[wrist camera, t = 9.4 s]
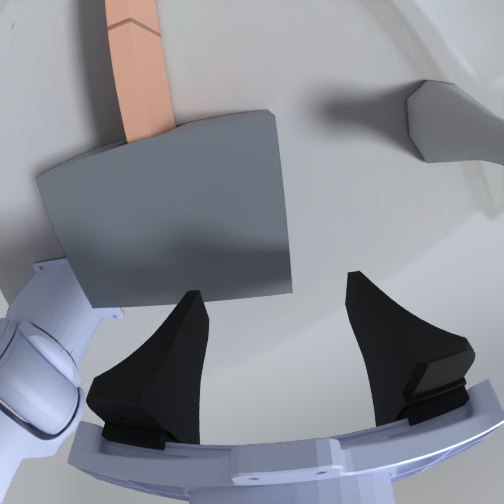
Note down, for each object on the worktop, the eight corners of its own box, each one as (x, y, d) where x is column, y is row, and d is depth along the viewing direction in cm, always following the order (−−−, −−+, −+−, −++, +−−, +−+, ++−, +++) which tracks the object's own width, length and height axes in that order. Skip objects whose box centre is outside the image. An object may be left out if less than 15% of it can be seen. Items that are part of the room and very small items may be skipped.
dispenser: (124, 257, 23) (92, 308, 18) (88, 150, 18) (35, 178, 12) (282, 237, 22) (292, 292, 17) (267, 109, 17) (274, 115, 11)
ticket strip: (162, 156, 19) (136, 177, 14) (133, -30, 10) (103, -53, 6) (181, 152, 18) (159, 171, 14) (151, -36, 10) (125, -63, 6)
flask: (391, 91, 16) (483, 104, 7) (455, 71, 14) (546, 83, 6) (419, 175, 19) (498, 233, 11) (476, 148, 17) (556, 190, 9)
